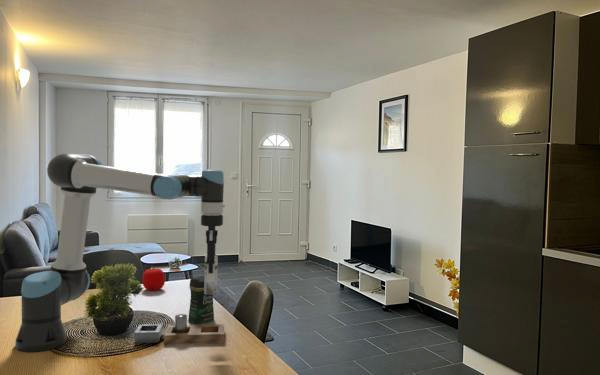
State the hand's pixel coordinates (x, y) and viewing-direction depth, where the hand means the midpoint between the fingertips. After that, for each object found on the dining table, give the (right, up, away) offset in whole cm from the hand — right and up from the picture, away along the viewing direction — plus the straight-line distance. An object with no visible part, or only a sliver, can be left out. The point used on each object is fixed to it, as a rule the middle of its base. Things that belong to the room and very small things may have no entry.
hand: (210, 280), depth 166 cm
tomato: (-40, -18, +65) cm, 78 cm away
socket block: (-22, -21, -1) cm, 30 cm away
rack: (-6, -21, 0) cm, 22 cm away
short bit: (-10, -20, 0) cm, 23 cm away
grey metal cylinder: (0, -5, 0) cm, 5 cm away
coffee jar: (-7, -21, +19) cm, 29 cm away
